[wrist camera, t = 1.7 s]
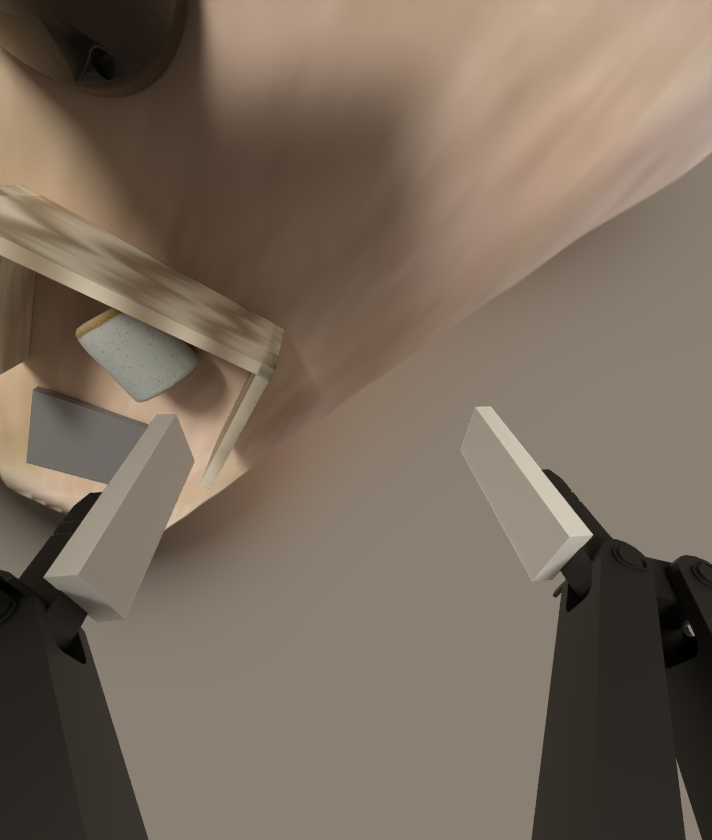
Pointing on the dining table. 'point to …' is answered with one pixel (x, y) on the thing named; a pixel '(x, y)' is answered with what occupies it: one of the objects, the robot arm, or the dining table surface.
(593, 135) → the dining table surface
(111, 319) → the ceramic mug
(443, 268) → the dining table surface
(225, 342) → the open box
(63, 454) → the rubber mat
